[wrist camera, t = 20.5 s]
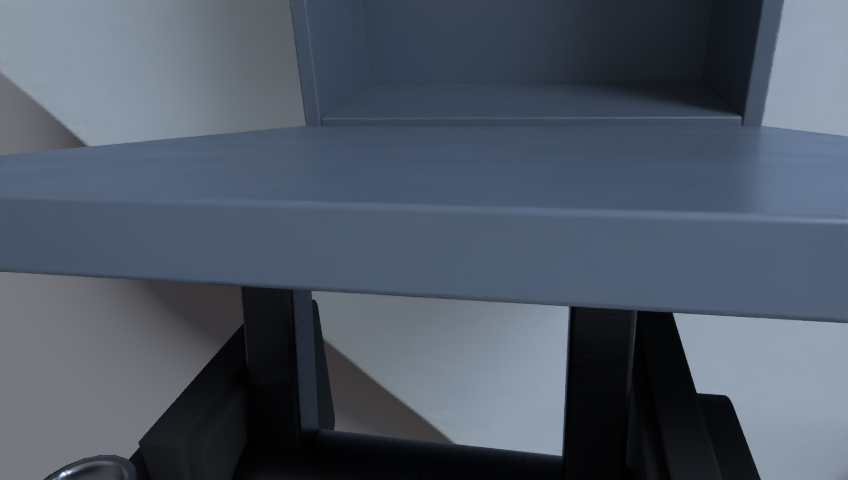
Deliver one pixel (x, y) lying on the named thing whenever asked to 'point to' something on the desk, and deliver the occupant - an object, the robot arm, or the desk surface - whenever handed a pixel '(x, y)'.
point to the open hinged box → (535, 62)
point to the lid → (449, 252)
